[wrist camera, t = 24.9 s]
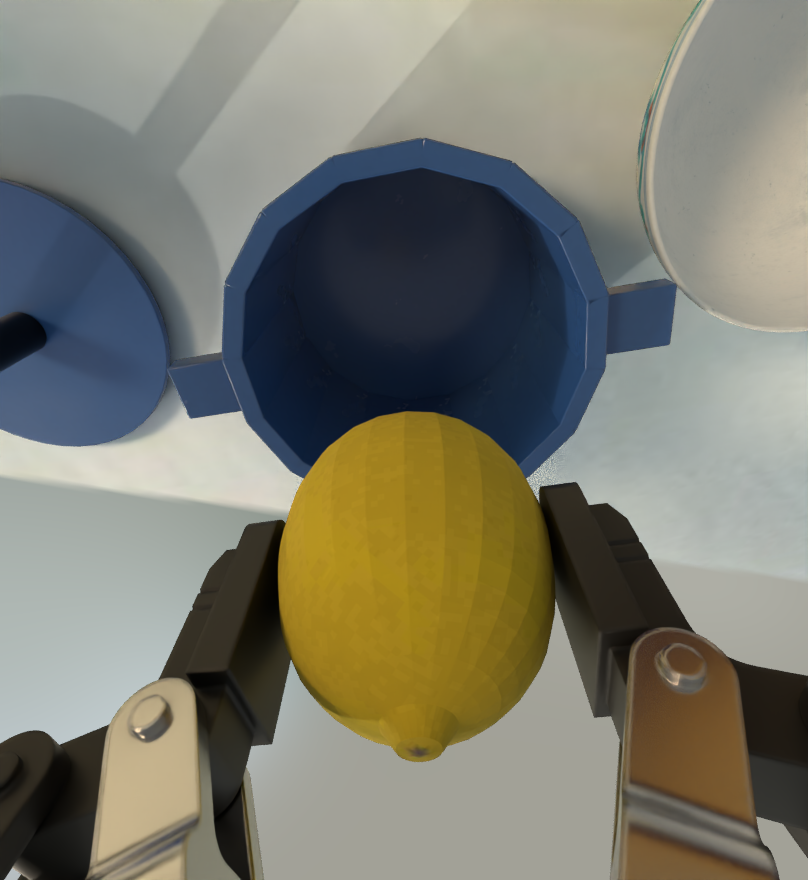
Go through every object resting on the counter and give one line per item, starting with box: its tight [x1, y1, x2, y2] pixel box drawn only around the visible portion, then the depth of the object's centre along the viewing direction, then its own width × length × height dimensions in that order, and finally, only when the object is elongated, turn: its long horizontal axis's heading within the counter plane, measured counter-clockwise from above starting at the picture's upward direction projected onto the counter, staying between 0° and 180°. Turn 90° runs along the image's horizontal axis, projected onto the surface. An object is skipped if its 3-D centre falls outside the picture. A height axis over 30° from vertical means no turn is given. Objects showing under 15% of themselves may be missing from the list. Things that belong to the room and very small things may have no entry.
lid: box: [0, 179, 170, 447], centre depth 26 cm, size 16×16×6 cm
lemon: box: [278, 411, 556, 762], centre depth 10 cm, size 6×6×8 cm
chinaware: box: [637, 0, 808, 332], centre depth 20 cm, size 15×15×8 cm
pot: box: [167, 138, 677, 478], centre depth 23 cm, size 15×20×10 cm
